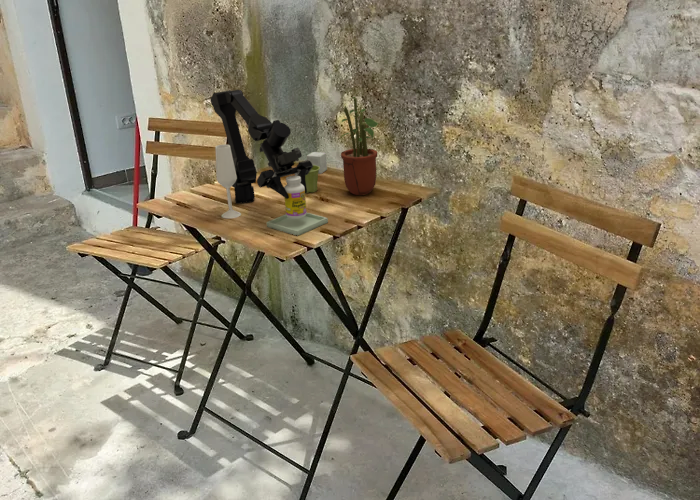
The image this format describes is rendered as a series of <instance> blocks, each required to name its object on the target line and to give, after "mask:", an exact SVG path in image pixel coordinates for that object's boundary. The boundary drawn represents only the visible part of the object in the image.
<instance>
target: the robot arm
mask: <svg viewBox="0 0 700 500" xmlns="http://www.w3.org/2000/svg"><path fill="white" fill-rule="evenodd" d="M210 104H211V105H212V108H213V111H214V112H215V114H216V115H217V116H219V118H220V119H221V121H222V124H223V128H224V131H225V135H226V139H227V142H228V145H230V148H231V152H232V157H233V162H234V166H235V171H236V176H237V179H236V182H235V183H234V184H233V185H232V187H231V188H233V189H234V190H233V191H234V201H235V205H236V204H248V203H254V202H255V201H254V200H255V189H254V186H253V185H252V184H257V185H258V187H259V188H265V187H266V188H267V189H271V190H273V191H275V192H276V193H278V194H279V195H280V196H281V197H283V198H284V199H285V198H286V199H288V198H289V196H288V194H287V192H286V190H285V188H284V187H285V186H284V185H283V183H282V179H281V178H283V177H288V176H293V175H294V176H300V177H301V182H300V183H301V184H303V185H304V187H305V195H306V194H308V193H307V188H306V181H305V176H306V175H307V174H308V173H309V172H310V170H311V169H312V167H313V165H312V163H311V161H309V160H307V159H306V160H302V161H299V159H300V158H302V157H303V155H302V152H301V150H300V148H299V147H296V148H292V149H291V151H290V152H288V151H284V150H283V148H282V147H283V146H284V145H285V143H286V141H287V140H288V138H289V137H290V135H291V128H290V126H288V125H287V124H285V123H284V122H281V121H280V120H279V119H276V120H273V121H271V120H270V119H269V118H267V117H266V116H264V115H261V114H259V113H258V111H256V109H255V108H254V106H253V105H252V104H251V103H250V101H248V99H247V98H246V96H245V95H244V93H243V91H242V90H241V89H233V90H231V89H230V90H224V91H217V92H213V93H212V96H211V97H210ZM236 113H238V114H239V116H240V117H241V118H242V119H243V121H244V122H245V123H246V125H247V131H248V134H249V135H250V137H251V139H252V141H255V142H259V141H262V140H263V141H262V142H261V143H260V144H259V145H260V146H259V152H260V153H262V152H263V154H264V156H265V157H266V159H267V161H268V163H267V165H268V166H267V167H269V169H267V170H262V171H261V172H260V174H259V175H258V171H257V168H256V165H255V161H254V159H253V158H250V157H248V155H247V154H246V149H245V147H244V143H243V140H242V139H243V138H242V135H241V131H240V127H239V124H238V120H237V117H236ZM298 161H299V162H298ZM295 162H298V164H297V166H295V167H293V166H294V165H295ZM270 167H271V169H270ZM257 176H258V177H257Z"/></svg>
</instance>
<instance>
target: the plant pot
mask: <svg viewBox="0 0 700 500" xmlns="http://www.w3.org/2000/svg"><path fill="white" fill-rule="evenodd" d="M319 169H320V167H319V166H316V165H313V167H312V169H311V170H310V172H309V173H308V174H307V175H306V176H305V181H306V188H307V193H306V194H308V193H315V192H317V190H318V178H319V174H318V173H319Z"/></svg>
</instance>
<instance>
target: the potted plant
mask: <svg viewBox="0 0 700 500" xmlns="http://www.w3.org/2000/svg"><path fill="white" fill-rule="evenodd" d="M352 99H353V108H354V109H351V110H350V111H349V110H348V107H347V106H346V105H344V108H343V112H344V114H345V117H346V118H343V119H341V123H343V122H346V121H347V124H348V128H349V132H345V133H344V134H343V135H342V136H340V137H338V140H340V139H341V138H342V137H343V136H346V135H349V134H350V137H351V143H352V144H351V145H352V148H351V149H346V150H343V151H342V152H341V153H340V157H341V159H342V162H343V163H342V164H343V165H342V166H343V179H344V184H345V187H346V189H347V190H348V192H350V194H353V195H355V196H365V195H368V194H369V193H371V192H372V191H373V190H374V188H375V186H376V181H377V157H378V151H377V150H376V149H372V148H368V141H367V139H371V140H374V135H375V131H374V130H373V129H372V128H375V127H377V126H378V125H379V123H378V122H377V121H376V120H374V119H373V118H371V117H370V118H369V117H368V118H367V117H364V112H365V111H366V108H362V109H360V111H359V112H360V114H358V101H357V97H356V96H354V97H351V98H350V99H348V100H347V101H350V100H352ZM352 113H354V116H352V118H354V128H353V125H352V120H351V116H350V114H352ZM366 125H367V126H368V127H366ZM367 133H368V134H369V136H367ZM337 142H338V141H336V143H335V144H334V145H337Z"/></svg>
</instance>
